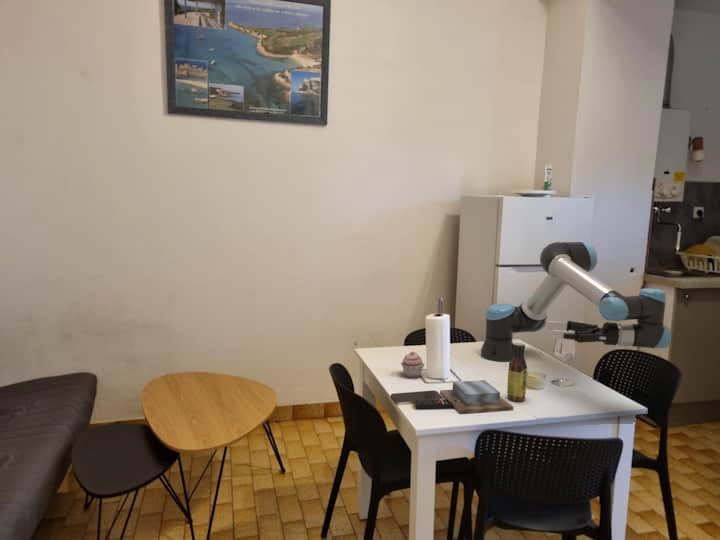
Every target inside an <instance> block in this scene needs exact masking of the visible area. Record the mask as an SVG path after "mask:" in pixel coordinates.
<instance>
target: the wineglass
mask: <svg viewBox="0 0 720 540" xmlns="http://www.w3.org/2000/svg"><path fill="white" fill-rule="evenodd" d="M575 342H576V341H574V340H563V339H554V343H553V350H552V353H553V355H554V356H555V358H556V359H557V360H559V361H560V362H561V374H560V375H561V376H560V378H553V379H551V383H553V384H554V385H556V386H561V387H570V386H572V385H573V382H572V381H571V380H568V379H565V378H564V369H565V363H566V362H569V361H571V360H572V359H573V358H574V356H575V354H576V344H575Z"/></svg>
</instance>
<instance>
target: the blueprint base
mask: <svg viewBox="0 0 720 540" xmlns="http://www.w3.org/2000/svg"><path fill="white" fill-rule="evenodd" d="M439 394H440V396H442V397H443V398H444V399H445V400H446V399H447V400H449V401H451V402H452V404H453V406H454V407H453V406H452V407H453V408H454V410H455V411H456V412H457V413H458V414H459V415H464V414H465V415H466V414H479V413H493V412H502V411H503V412H504V411H507V412H508V411H513V410H514V405H512V404H511V403H509V402H508V401H507V400H506V399H505V398H503V397H502V396H501V392H500V391H499V390H497V388H495V387H494V386H493V385H492V384H490V383H488V382H487V381H486V380H484V379H482V380H468V381H467V380H466V381H465V380H464V381H452V389H442V390H439ZM447 400H446V401H447ZM454 400H461V401H462V403H461V402H460V403H458V402H454Z"/></svg>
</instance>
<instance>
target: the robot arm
mask: <svg viewBox="0 0 720 540" xmlns="http://www.w3.org/2000/svg"><path fill="white" fill-rule="evenodd" d="M539 256H540V257H539V263H540V266H541V268H542V269H543V270H544V272H546V274H547V275H546V277H545V278H544V279H543V280H542V281H541V283H540V284H539V286H538V287H537V288H536V290H535V291H534V292H533V293H532V295H531V296H530V297H529V298H525V299H524V300H523V301H522V302H521V304H520V305H519V306H515V305H513V304H512V303H505V302H504V303H495V304H491V305H490V306H489V307H488V308H487V309H486V315H485V318H486V319H485V321H486V323H485V338H484V341H483V343H482V345H481V349H480V356H481V358H484V359H486V360H489V361H493V362H495V361H496V362H510V360H511V358H512V357H513V343H514V342H513V336H514V335H513V334H517V333H519V334H520V333H535V332H538V331H541V330H543V329H544V328H545V326H546V325H547V326H546V329H547V330H552V336H551V338H552V339H553V340H555V339H563V340H574V341H575V342H577V344H578V343H579V344H582V343H597V342H599V343H601V342H603V344H604V345H606V346H607V345H608V346H616V345H618V346H620V347H623V348H625V349H626V348H627V347H633V348H634V347H635V348H644V349H645V348H646V349H667V348H668V347H669V346H670V344H671V341H672V335H671V334H672V331H671V329H670V328H669V326H667V325H664V319H665V312H666V311H665V310H666V305H667V303H666V300H667V295H666V294H667V293H666V292H665V291H664V290H663V289H658V288H650V287H649V288H647V287H646V288H645V287H644V288H641V289H640V290H639V294H638V295H631V296H629V295H623V294H621V293H620V292H619V291H616V290H615V289H613V288H612V287H611V286H610V285H608V284H607V283H605V282H604V281H601V280H600V279H599V278H597V277H596V276H594V275H593V274H591V273H590V272H591V271H594V269H595V268H596V266H597V264H598V253H597V250H596V249H595V247H594V246H593V245H592V244H591V243H590V242H585V241H584V242H583V241H569V242H568V241H565V242H563V241H561V242H560V241H558V242H552V243H548V245H546V246H544V248H543V249H542V250H541V253H540V255H539ZM567 286H569V287H570V288H572V289H573V290H575V291H576V292H577V293H579V294H580V295H581V296H583V298H585V299H587V300H589V301H590V302H591V303H592V304H594V305H595V306H597V307H598V311H599V313H600V314H601V317H602V318H603V319H604V320H606V322H604V323H603V325H602V327H599V326H598V324H590V323H584V322H578V321H572V320H567V322H566V321H552V320H551V321H550V320H547V319H548V315H547V314H548V313H547V310H548V309H549V308H550V306H552V305H553V303H554V302H555V301H556V299H557V298H558V297H559V296H560V294H562V293H563V291H564V290H565V289H566V287H567ZM628 320H629V321H630V320H631V321H632V320H636V322H637V323H626V322H625V323H624V322H623V323H622V322H620V321H628ZM608 321H612V322H608ZM617 322H618V323H617Z"/></svg>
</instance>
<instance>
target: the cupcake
mask: <svg viewBox="0 0 720 540" xmlns="http://www.w3.org/2000/svg"><path fill="white" fill-rule="evenodd" d="M402 359H403V360H402V362H400V364H401V367H402V370H403V376H405V377H406V376H407V377H406V378H409V379H411V378H412V379H416V378H419V377H420V376H421V375H422V372H423V369H424V367H425V364H424V362H423V359H422V358H421V356H420V354H419V353H418V352H415V351H414V350H412V351H410V352H409V353H408V354H405V355H404V358H402Z"/></svg>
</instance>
